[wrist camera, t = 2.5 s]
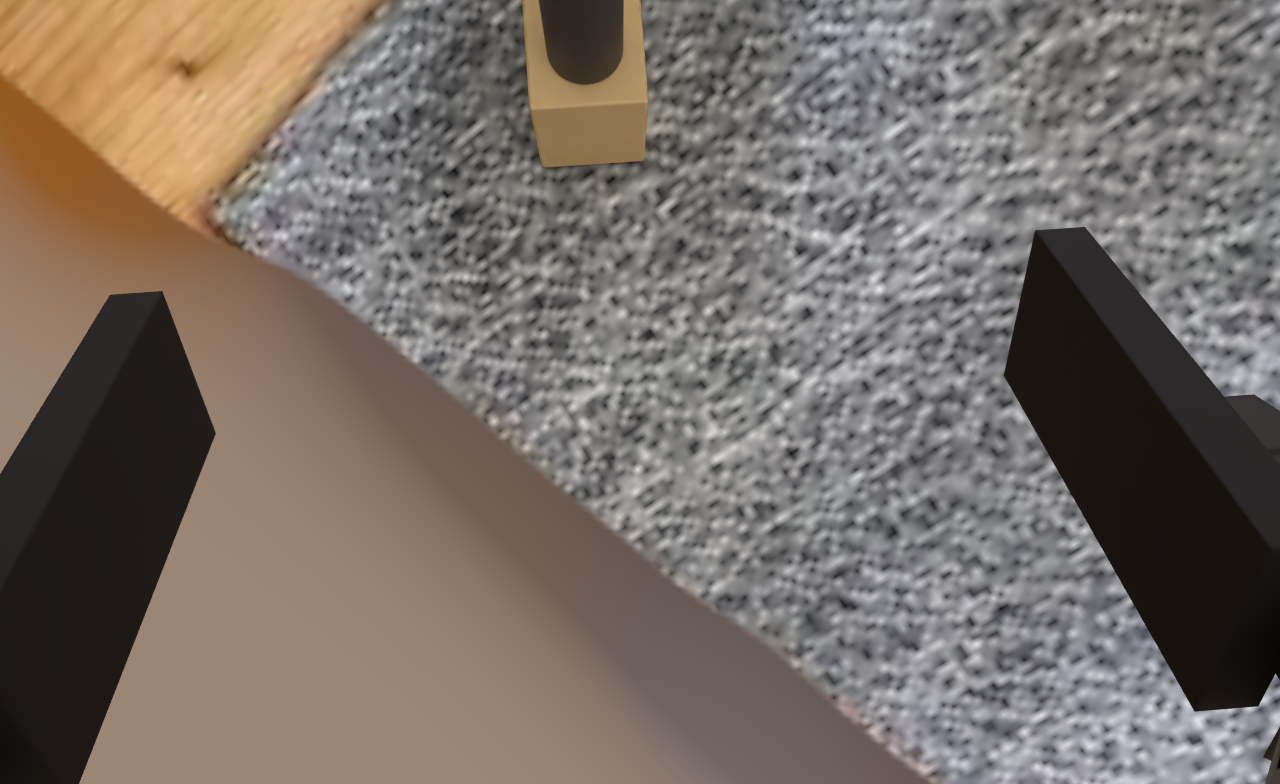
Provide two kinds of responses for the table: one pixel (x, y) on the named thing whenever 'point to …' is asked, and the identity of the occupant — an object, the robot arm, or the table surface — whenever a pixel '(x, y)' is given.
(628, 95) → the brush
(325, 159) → the table surface
